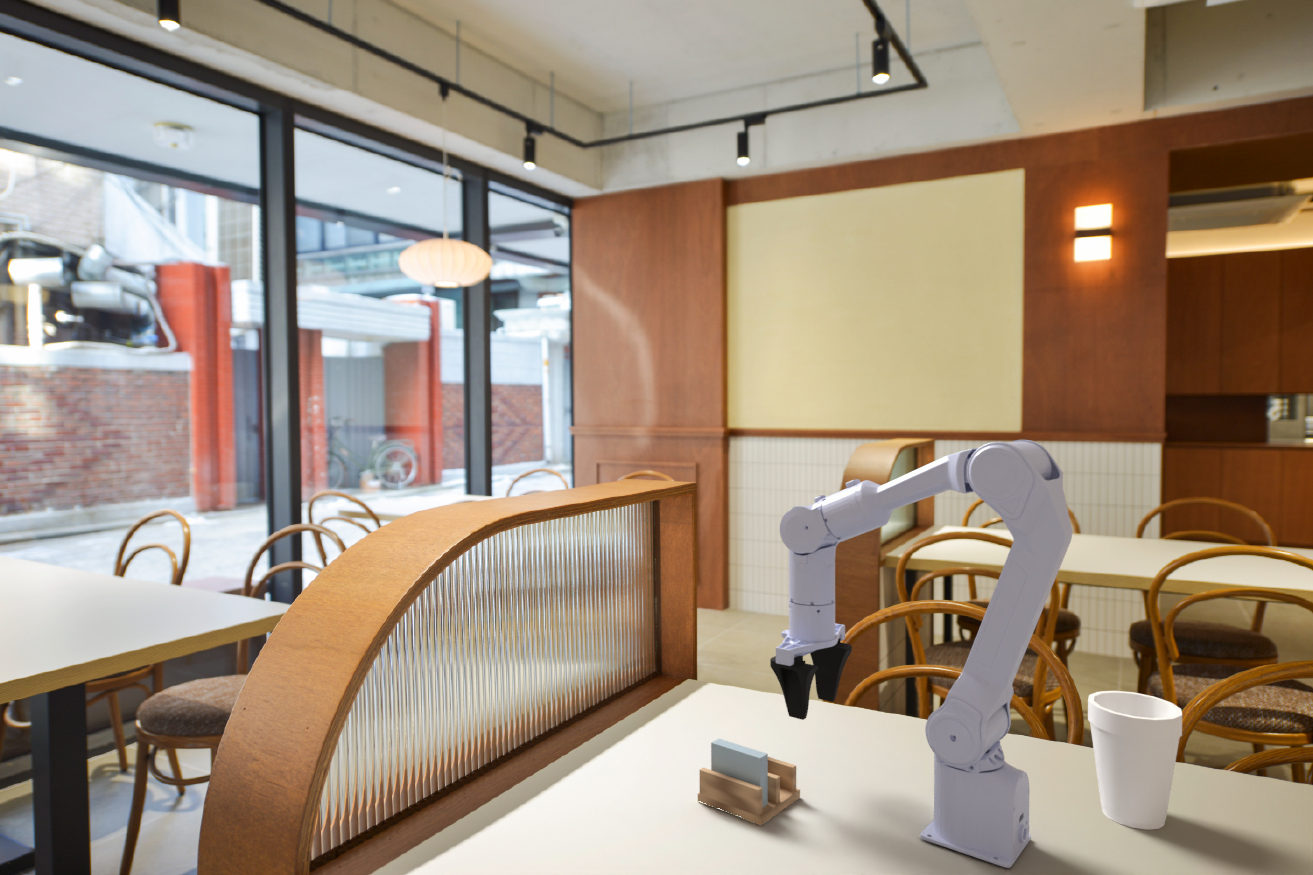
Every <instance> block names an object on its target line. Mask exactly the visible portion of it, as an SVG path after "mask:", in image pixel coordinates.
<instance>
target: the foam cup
mask: <svg viewBox="0 0 1313 875" xmlns="http://www.w3.org/2000/svg"><path fill="white" fill-rule="evenodd" d="M1087 721H1088V722H1089V724H1090V731H1091V740H1092V749H1093V754H1094V762H1095V769H1096V770H1095V771H1096V777H1097V784H1098V791H1099V798H1100V799H1099V800H1100V806H1101V812H1102V814H1104V815H1105V816H1106V817H1107V819H1110V820H1112V821H1114V822H1115V823H1117V824H1120V825H1122V826H1124V827H1125V826H1126V827H1129V828H1132V829H1133V828H1134V829H1140V830H1145V831H1146V830H1147V831H1148V830H1158V829H1161V828H1162V827H1164V826H1165V824H1166V823H1165V821H1166V819H1167V814H1168V809H1169V808H1168V807H1169V802H1170V797H1171V791H1172V790H1171V789H1172V784H1173V779H1174V773H1175V766H1176V761H1177V756H1178V749H1179V742H1180V737H1183V712H1182V708H1180V707H1179V706H1177V705H1176V704H1175V703H1173V702H1171V701H1168V700H1165V699H1162V698H1159V697H1156V696H1153V695H1148V694H1143V693H1139V692H1133V691H1122V690H1121V691H1120V690H1104V691H1103V690H1101V691H1096V692H1093V693H1090V694H1089V695H1088V699H1087Z"/></svg>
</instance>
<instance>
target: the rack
mask: <svg viewBox="0 0 1313 875" xmlns="http://www.w3.org/2000/svg"><path fill="white" fill-rule="evenodd" d="M800 798H801V789H800V788H797V765H796V764H792V763H789V762H786V761H783V760H779V759H776V758H774V757H771V756H768V804H767V805H766V806H765V807H763V808H762V788H761V787H759V786H756V785H753V784H750V783H747V782H744V781H741V780H738V779H735V778H732V777H730V776H727V775H724V774H721V773H718V772H715V771H712V770H711V769H709V768H706V767H702V768H701V769H699V792H698V793H697V802H698V801H701V802H703V803H706V804H707V805H710V806H713V807H715V808H720V809H722V810H724V811H727V812H729V813H732V814H734V815H738V816H741V817H742V818H744V819H746V820H745V821H747V820H749V821H750V822H749V821H748V822H749V823H752V822H754V823H753V824H755V823H756V824H755V825H757V824H759V825H758V826H760V825H762V824H763V825H765V822H766V823H767V822H768V821H770V820H771V819H773V818H774V817H775V816H777V815H778V814H780V813H781V812H782V811H784V810H785V809H786V808H788V807H789V806H790V805H792V804H793V803H795V802H796V801H797V800H799V799H800ZM794 801H795V802H794ZM707 805H706V806H707ZM710 806H709V807H710ZM713 807H712V808H713ZM715 808H714V809H715ZM784 808H785V809H784ZM783 809H784V810H783ZM780 811H781V812H780ZM734 815H733V816H734ZM773 816H774V817H773ZM772 817H773V818H772ZM742 818H741V819H742ZM744 819H743V820H744ZM763 825H762V826H763Z"/></svg>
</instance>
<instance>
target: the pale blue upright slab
mask: <svg viewBox="0 0 1313 875" xmlns="http://www.w3.org/2000/svg"><path fill="white" fill-rule="evenodd" d="M710 747H711V748H710V752H711V753H710V754H711V755H710V756H711V758H710V759H711V761H710V762H711V763H710V764H711V766H710V767H711V769H710V770H712V771H715V772H718V773H721V774H724V775H727V776H730V777H732V778H735V779H738V780H741V781H744V782H747V783H750V784H753V785H756V786H759V787H761V788H762V808H763V807H765V806H766V805H767V804H768V757H769V756H768V753H767V752H763V751H759V750H757V749H753V748H750V747H747V746H743V745H741V744H738V743H735V742H731V741H728V740H725V739H722V738H717V739H715V740H714V741H712V742H711V743H710Z"/></svg>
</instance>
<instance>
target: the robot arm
mask: <svg viewBox="0 0 1313 875" xmlns="http://www.w3.org/2000/svg"><path fill="white" fill-rule="evenodd" d="M1063 484H1064V472H1063V470H1062V469H1061V468H1060V466H1059V465H1058V463H1057V462H1056V460H1055V459H1054V458H1053V456H1052V454H1051V453H1050V452H1049V450H1048V449H1046V447H1044V446H1043V445H1042V444H1040V443H1038V442H1036V441H1033V440H1030V439H1029V440H1028V439H1017V440H1012V441H1010V442H1009V441H1008V442H1005V441H993V442H992V441H991V442H988V443H985V444H982V445H981V446H979V447H974V448H969V449H965V450H960V451H957V452H954V453H950V454H947V455H944V456H942V457H940V458H938V459H936V460H934V461H932V462H929V463H928V464H925V465H923V466H921V467H919V468H917V469H914V470H912V471H910V472H908V473H905V474H903V475H901V476H899V477H898V478H895V479H892V480H891V481H888V482H885V483H884V484H878V483H877V482H874V481H872V480H867V479H866V480H865V479H864V480H863V481H861V480H860V478H859V479H852V480H850V481H847V482H845V487H846V488H845V489H842V490H839V491H836V492H835V493H833V494H832V493H831V494H830V495H828V496H826V495H825V494H822V495H818V496H816V497H814V498H813V501H814V503H813V504H808V505H795V506H793V507H791V509H789V510H788V511H786V513H784V515H783V516H782V517H781V520H780V523H779V533H780V534H779V535H780V537H781V541H782V543H783V544H784V545H785V547H786V548H787V549H788V629H785V630H783V631H781V638H782V639H783V638H784V639H783V640H782V642H781V643H780V644H779V645H778V646H776V647H775V656H772V657H771V658H770V660H769V662H770V668H771V669H772V672H773V673H774V675H775V677H776V678H777V680H778V683H779V685H780V688H781V690H782V695H783V697H784V703H785V706H786V709H787V714H788V717H791V718H794V719H799V720H802V721H803V720H805V719H807V716H808V713H809V712H808V711H809V706H810V704H809V703H810V695H811V694H810V693H811V688H812V683H813V680H814V678H815V680H814V681H815V689H816V690H815V692H816V694H817V695H816V696H817V699H818V700H822V701H825V702H831V703H833V702H835V700H836V698H837V694H838V689H839V686H840V681H841V677H842V674H843V671H844V667H845V665H846V663H847V660H848V658H849V656H850V655H851V653H852V652H853V646H852V644H849V643H845V642H842V641H844V640H846V625H845V624H840V623H836V550H837V546H838V545H839V544H840V543H842V542H845V541H847V540H850V539H852V538H855V537H858V536H860V535H862V534H865V533H868V532H871V531H873V530H875V529H880V528H881V527H884V526H886V525H887V524H888V523H889V521H890V518H891V516H892V514H893V511H894V510H896V509H899V508H902V507H905V506H907V505H911V504H914V503H917V502H919V501H920V502H921V501H922V500H924V499H927V498H930V497H933V496H936V495H939V494H942V493H945V492H948V491H954V492H958V493H961V494H969V493H970V494H971V493H975V494H976V495H977V497H978V498H979V499H981V500H982V501H983V503H985V504H986V505H987V506H989V507H990V508H991V509H992V510H993V511H994V512H996V513H997V515H999V517H1000V518H1001V520H1002V521H1003V523H1004V525H1005V526H1006V528H1007V530H1008V531H1009V533H1010V534H1011V536H1012V539H1013V541H1012V543H1011V548H1010V549H1009V552H1008V554H1007V557H1006V560H1005V562H1004V564H1003V567H1002V569H1001V573H1000V574H999V578H998V579H997V583H996V585H995V588H994V590H993V592H992V594H991V598H990V600H989V603H988V606H987V608H986V611H985V613H984V615H983V618H982V620H981V624H980V626H979V629H978V631H977V634H976V636H975V638H974V640H973V644H972V646H971V649H970V651H969V654H968V656H967V659H966V661H965V664H964V667H963V669H962V671H961V672H960V673H959V676H958V677H957V679H955V682H953V685H952V686H951V688H950V689H949V691H948V693H947V695H946V697H945V699H944V702H943V703H942V705H940V707H938V708H937V709H935V710H934V711H932V712H931V714H929V715H928V718H927V720H926V723H925V728H924V729H925V737H926V740H927V743H928V746H929V748H930V749H931V751H932V752H933V753H934V754H933V820H932V821H931V822H930V823H929V824H928V825H927V826H926V827H925V828H924V829H923V830H922V831H921V832H920V835H919V837H920V839H922V840H924V841H927V842H929V843H932V844H934V845H939V846H941V847H945V848H946V849H947V848H948V849H951V850H953V851H956V852H958V853H962V854H963V855H967V856H971V857H974V858H976V859H979V860H982V861H984V862H987V863H991V864H994V865H997V866H1000V867H1003V868H1006V869H1010V868H1011V867H1012V866H1013V865H1014V864H1015V862H1016V860H1018V858H1019V856H1020V855H1021V853H1022V852H1023V850H1024V849H1025V848H1026V846H1027V845H1028V844H1029V842H1030V841H1031V840H1032V836H1031V834H1030V781H1029V775H1028V773H1027V771H1024V770H1021V769H1019V768H1017V767H1014V766H1012V765H1011V764H1009V762H1007V761H1006V760H1005V755H1004V750H1003V747H1002V745H1001V740H1003V739H1004V738H1005V736H1006V735H1007V734H1008V733H1009V731H1010V729H1011V724H1012V716H1011V710H1010V707H1011V701H1012V698H1013V696H1014V694H1015V692H1014V690H1015V689H1014V687H1013V683H1014V680H1015V678H1016V675H1017V674H1018V671H1019V668H1020V666H1021V663H1022V661H1023V658H1024V656H1025V654H1026V651H1027V649H1028V646H1029V644H1030V641H1031V639H1032V637H1033V634H1034V631H1035V629H1036V627H1037V624H1038V622H1039V620H1040V617H1041V614H1042V612H1043V610H1044V607H1045V605H1046V603H1047V601H1048V597H1049V595H1050V593H1051V590H1052V587H1053V585H1054V583H1055V580H1056V578H1057V576H1058V573H1059V571H1060V569H1061V567H1062V564H1063V561H1064V558H1065V557H1066V554H1067V552H1068V548H1069V546H1070V544H1071V541H1072V537H1073V528H1072V522H1071V519H1070V514H1069V509H1068V505H1067V500H1066V496H1065V492H1064V485H1063ZM809 654H810V658H811V661H812V664H810V663H806V659H805V660H804V656H807V655H809Z"/></svg>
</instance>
